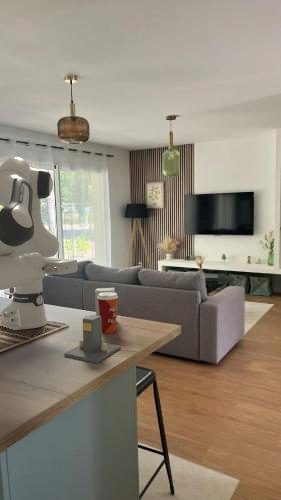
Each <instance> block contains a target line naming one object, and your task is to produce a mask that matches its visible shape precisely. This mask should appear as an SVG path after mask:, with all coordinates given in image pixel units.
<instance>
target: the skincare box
mask: <svg viewBox="0 0 281 500" xmlns="http://www.w3.org/2000/svg"><path fill="white" fill-rule="evenodd" d="M104 292H114V293H116V289H115V287H106V288H105V287H102V288H101V287H100V288H95V290H94V303H95V305H94V306H95V315H96V316H100V315H99V302H98V298H97V297H98V295H99V294H100V293H104ZM117 320H118V319H116V321H117Z"/></svg>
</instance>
